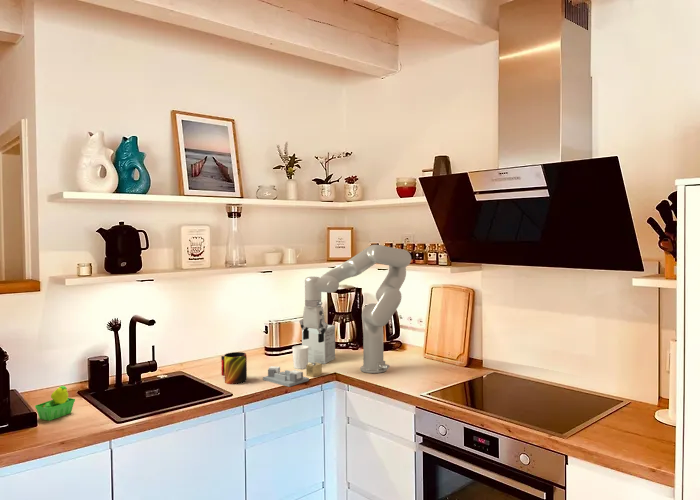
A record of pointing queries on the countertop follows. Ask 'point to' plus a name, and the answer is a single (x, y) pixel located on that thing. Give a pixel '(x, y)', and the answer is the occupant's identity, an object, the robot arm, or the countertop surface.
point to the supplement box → (320, 345)
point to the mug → (234, 368)
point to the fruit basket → (56, 405)
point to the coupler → (314, 369)
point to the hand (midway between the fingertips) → (313, 340)
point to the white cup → (300, 356)
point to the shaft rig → (285, 377)
